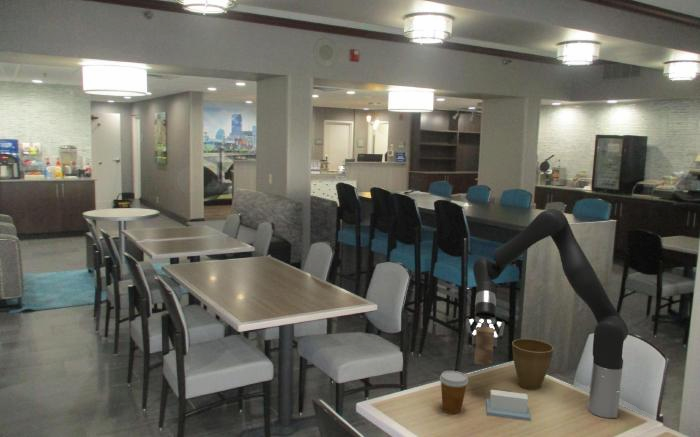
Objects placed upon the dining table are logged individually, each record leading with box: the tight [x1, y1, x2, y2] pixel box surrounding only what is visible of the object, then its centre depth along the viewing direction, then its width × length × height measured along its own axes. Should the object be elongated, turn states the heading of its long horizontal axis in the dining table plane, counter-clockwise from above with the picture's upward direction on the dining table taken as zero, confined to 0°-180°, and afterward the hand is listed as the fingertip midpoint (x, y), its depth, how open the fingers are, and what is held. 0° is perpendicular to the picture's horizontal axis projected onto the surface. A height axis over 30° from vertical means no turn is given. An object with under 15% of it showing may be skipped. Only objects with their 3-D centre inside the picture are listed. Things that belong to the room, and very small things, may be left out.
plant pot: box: [511, 338, 555, 390], centre depth 210 cm, size 15×15×16 cm
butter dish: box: [485, 389, 532, 421], centre depth 189 cm, size 14×10×6 cm
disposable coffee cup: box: [439, 370, 469, 414], centre depth 188 cm, size 10×10×12 cm
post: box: [473, 326, 495, 366], centre depth 198 cm, size 6×6×12 cm
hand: (484, 347), depth 196 cm, fingers closed on post, 6 cm apart
